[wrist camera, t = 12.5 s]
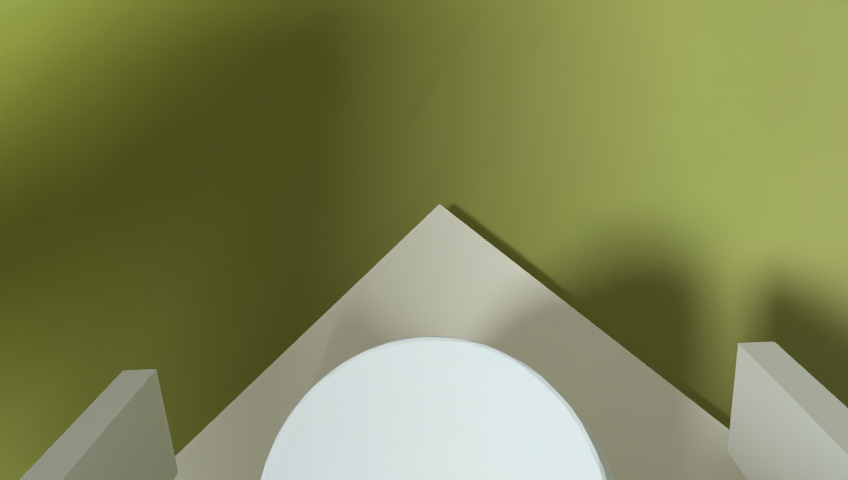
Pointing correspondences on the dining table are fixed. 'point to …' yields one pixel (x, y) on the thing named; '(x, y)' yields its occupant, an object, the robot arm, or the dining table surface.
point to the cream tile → (485, 323)
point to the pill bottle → (435, 420)
